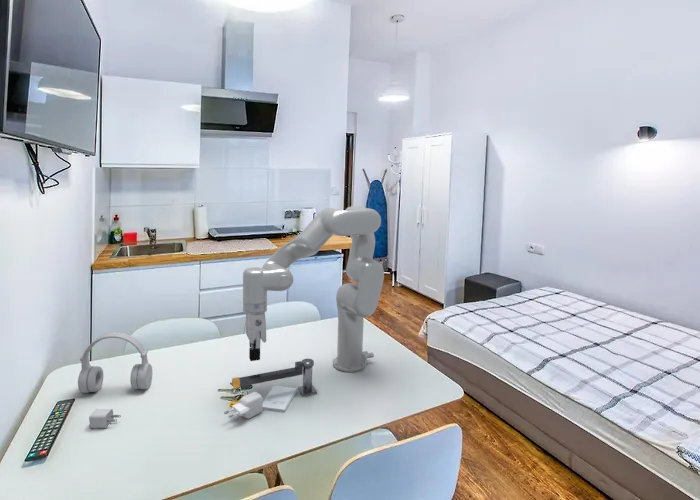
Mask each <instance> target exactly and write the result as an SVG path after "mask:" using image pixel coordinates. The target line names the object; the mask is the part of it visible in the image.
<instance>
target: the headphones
mask: <svg viewBox="0 0 700 500" xmlns="http://www.w3.org/2000/svg"><path fill="white" fill-rule="evenodd" d="M105 339H120V340H124V341H126V342H128V343H130V344H131V345H132V346H133V347H135V348H136V349H137V351H138V352H139V355H140V356H139V357H140V358H141V363H136V364H135V365H133V367H132V368H131V372H130V377H129V378H130V379H129V382H130V386H131V388H132V389H133V390H139V389H140V390H147V389H148V388H150V386H151V385H152V384H151V383H152V381H153V367H152V365H151V363H150V362H149V359H148V351H149V350H148V349H145V347H144V346H143V345H142V343H141V342H140V341H139V340H138V339H137V338H135V337H133V336H132V335H130V334H127V333H124V332H119V331H118V332H115V331H114V332H108V333H104V334H103V335H100V336H98V337H97V338H96V339H94V340H93V341H92V343H90V344H89V345H88V346H87V348H86V349H85V350H84V352H83V355H82V356H81V357H80V359H79V361H80V362H81V370H80V372H79V375H78V379H77V387H78V390H79V391H80V393H82V394H89V392H90V393H97V392H99V390H100V389H101V387H102V386H103V382H104V369H103V368H102V367H101V366H100V365H94V366H93V365H91V364H90V361H89V356H90V354H89V353H90V351H91V350H92V348H93V347H94V346H95V345H96V344H97V343H99V342H100V341H103V340H105Z"/></svg>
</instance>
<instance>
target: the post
mask: <svg viewBox="0 0 700 500" xmlns="http://www.w3.org/2000/svg"><path fill="white" fill-rule="evenodd" d="M297 391H298V392H299V394H300V395H301V396H302V397H303V398H304V397H308V396H312V395H313V396H314V395H317V394H318V390H317V389H316V387H315V386H314V384H313V366H312V367H310V368H305V367H303V375H302V386H298V387H297Z"/></svg>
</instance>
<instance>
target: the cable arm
mask: <svg viewBox="0 0 700 500" xmlns="http://www.w3.org/2000/svg"><path fill="white" fill-rule="evenodd" d="M314 366H315V360H313V359H312V358H304V359H302V360H300V361H295V362H294V367H290V368H284V369H283V368H282V369H280V370H274V371H268V372H262V373H257V374H252V375H245V376H240V377H233V378H231V384H232V385H231V386H232V389H239V388H241V387H247V386H252V385H257V384H262V383H267V382H273V381H277V380H282V379H288V378H292V377H298V376H303V367H305V368H310V367H312V368H313V367H314Z"/></svg>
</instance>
